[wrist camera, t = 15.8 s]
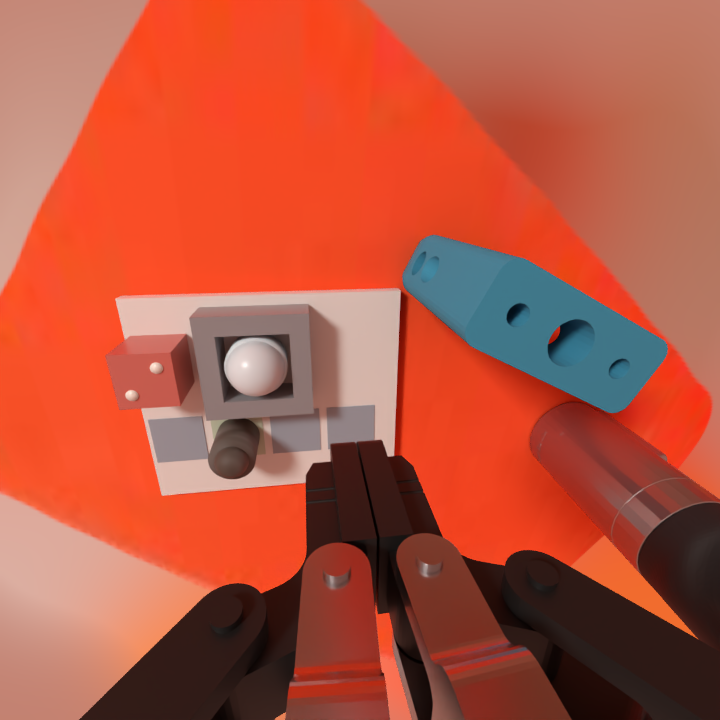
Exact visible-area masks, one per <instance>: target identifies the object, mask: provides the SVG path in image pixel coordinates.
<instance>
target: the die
mask: <svg viewBox="0 0 720 720" xmlns="http://www.w3.org/2000/svg"><path fill="white" fill-rule="evenodd" d="M105 356H106V360H107V364H108V368H109V372H110V376H111V379H112V383H113V387H114V391H115V395H116V399H117V402H118V406H119V410H126V409H142V408H158V407H174V406H181V405H182V403H183V401H184V399H185V398H186V396H187V394H188V393H189V391H190V389H191V387H192V386H193V384H194V382H195V380H194V374H193V369H192V363H191V357H190V351H189V345H188V340H187V334H167V335H142V336H129V337H128V338H127V339H126V340H124V341H123V342H122V343H121V344H119V345H118V346H117V347H116V348H114V349H113V350H112V351H110V352H109V353H108V354H107V355H105Z"/></svg>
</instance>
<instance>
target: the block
mask: <svg viewBox="0 0 720 720" xmlns="http://www.w3.org/2000/svg"><path fill="white" fill-rule="evenodd" d="M403 285H404V287H405V289H406V290H407V291H408V292H409V293H410V294H411V295H412V296H414V297H415V298H416V299H417V300H418V301H419V302H421V303H422V304H423V305H424V306H425V307H426V308H427V309H429V310H430V311H431V312H432V313H433V314H434V315H436V316H437V317H438V318H439V319H440V320H441V321H442V322H444V323H445V324H446V325H447V326H448V327H449V328H451V329H452V330H453V331H454V332H455V333H456V334H457V335H459V336H460V337H461V338H462V339H463V340H464V341H466V342H467V343H468V344H469V345H470V346H472V347H473V348H475V349H477V350H479V351H482V352H484V353H486V354H488V355H490V356H492V357H494V358H496V359H498V360H500V361H502V362H504V363H506V364H509V365H511V366H513V367H515V368H517V369H519V370H521V371H523V372H525V373H527V374H529V375H531V376H534V377H536V378H538V379H540V380H542V381H544V382H546V383H548V384H550V385H552V386H554V387H556V388H559V389H561V390H563V391H565V392H567V393H569V394H571V395H573V396H575V397H577V398H579V399H581V400H583V401H586V402H588V403H590V404H592V405H594V406H596V407H598V408H600V409H602V410H604V411H606V412H609V413H616V412H619V411H622V410H623V409H625V408H626V407H627V406H628V405H629V404H630V403H631V401H632V400H633V399H634V398H635V396H636V395H637V394H638V392H639V391H640V390H641V389H642V387H643V386H644V385H645V384H646V382H647V381H648V380H649V378H650V377H651V376H652V375H653V373H654V372H655V371H656V370H657V368H658V367H659V366H660V364H661V363H662V362H663V360H664V359H665V357H666V355H667V350H668V348H667V344H666V342H665V341H664V340H662V339H661V338H659V337H657V336H656V335H654V334H652V333H651V332H649V331H647V330H645V329H644V328H642V327H640V326H639V325H637V324H635V323H634V322H632V321H630V320H628V319H627V318H625V317H623V316H622V315H620V314H618V313H617V312H615V311H613V310H611V309H610V308H608V307H606V306H605V305H603V304H601V303H600V302H598V301H596V300H594V299H593V298H591V297H589V296H588V295H586V294H584V293H583V292H581V291H579V290H577V289H576V288H574V287H572V286H571V285H569V284H567V283H566V282H564V281H562V280H560V279H559V278H557V277H555V276H554V275H552V274H550V273H549V272H547V271H545V270H543V269H542V268H540V267H538V266H537V265H535V264H533V263H532V262H530V261H528V260H526V259H523V258H520V257H516V256H512V255H509V254H505V253H501V252H497V251H494V250H490V249H486V248H482V247H479V246H475V245H471V244H467V243H464V242H460V241H456V240H452V239H449V238H445V237H441V236H438V235H431V236H428V237H426V238H424V239H422V240H421V241H420V242H419V244H418V246H417V248H416V250H415V251H414V253H413V255H412V257H411V259H410V261H409V263H408V265H407V267H406V268H405V270H404V272H403ZM559 326H560V334H559V336H558V338H557V339H556V340H555V341H554V342H552V343H550V344H548V343H549V339H550V337H551V335H552V334H553V332H554V331H555V330H556V329H557V328H558V327H559Z"/></svg>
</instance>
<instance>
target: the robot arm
mask: <svg viewBox="0 0 720 720" xmlns="http://www.w3.org/2000/svg"><path fill="white" fill-rule="evenodd" d="M530 448H531V451H532V453H533V455H534V457H535V458H536V459H537V460H538V461H539V462H540V463H541V464H542V466H543V467H544V468H545V469H546V470H547V471H548V472H549V473H550V475H551V476H552V477H553V478H554V479H555V480H556V481H557V483H558V484H559V485H560V486H561V487H562V488H563V489H564V490H565V491H566V492H567V494H568V495H569V496H570V497H571V498H572V499H573V500H574V501H575V502H576V504H577V505H578V506H579V507H580V508H581V509H582V510H583V511H584V512H585V513H586V515H587V516H588V517H589V518H590V519H591V520H592V521H593V522H594V523H595V525H596V526H597V527H598V528H599V529H600V530H601V531H602V532H603V533H604V535H605V536H606V537H607V538H608V539H609V540H610V541H611V542H612V543H613V544H614V546H615V547H616V548H617V549H618V550H619V551H620V552H621V553H622V554H623V555H624V556H625V558H626V559H627V560H628V561H629V562H630V563H631V564H632V565H633V566H634V568H635V569H636V570H637V571H638V572H639V573H640V574H641V575H642V576H643V577H644V578H645V580H646V581H648V583H649V584H650V585H651V586H652V587H653V588H654V589H655V590H656V592H658V594H659V595H660V596H661V597H662V598H663V600H664V601H665V602H666V603H667V604H668V605H669V606H670V608H671V609H672V610H673V611H674V612H675V613H676V614H677V615H678V617H679V618H680V619H681V620H682V621H683V622H684V623H685V624H686V626H687V627H688V628H689V629H690V630H691V631H692V632H693V633H694V635H695V636H696V637H697V638H698V639H699V640H698V639H696V638H695V637H693V636H691V635H690V634H688V633H686V632H684V631H682V630H681V629H679V628H677V627H675V626H674V625H672V624H670V623H668V622H667V621H665V620H663V619H661V618H659V617H658V616H656V615H654V614H652V613H651V612H649V611H647V610H645V609H644V608H642V607H640V606H638V605H637V604H635V603H633V602H631V601H630V600H628V599H626V598H624V597H622V596H621V595H619V594H617V593H615V592H613V591H612V590H610V589H608V588H606V587H605V586H603V585H601V584H599V583H598V582H596V581H594V580H592V579H591V578H589V577H587V576H585V575H583V574H582V573H580V572H578V571H577V570H575V569H573V568H571V567H570V566H568V565H566V564H564V563H562V562H561V561H559V560H557V559H555V558H554V557H552V556H550V555H547V554H545V553H542V552H538V551H532V550H523V551H518V552H516V553H514V554H512V555H511V556H510V557H509V558H508V559H507V561H506V564H505V566H503V565H497V564H491V563H486V562H480V561H476V560H472V559H469V558H467V557H465V556H463V555H461V554H460V552H459V551H458V549H457V548H456V547H455V546H454V545H453V544H452V543H451V542H450V541H448V540H446V539H445V538H443V536H442V534H441V532H440V530H439V527H438V525H437V522H436V520H435V518H434V515H433V513H432V510H431V508H430V506H429V503H428V501H427V498H426V496H425V494H424V493H423V489H422V486H421V484H420V482H419V480H418V477H417V475H416V472H415V470H414V467H413V466H412V465H411V464H410V463H409V462H408V461H407V460H406V459H405V458H403V457H402V456H389V457H388V456H387V453H386V450H385V447H384V444H383V441H382V440H369V441H357V443H355V442H344V443H332V444H330V460H331V461H330V462H318V463H313V464H312V466H311V467H310V469H309V471H308V472H307V474H306V532H307V553H306V558H305V561H304V563H303V565H302V567H301V568H300V570H299V571H298V572H297V573H296V574H295V575H294V576H293V577H292V578H291V579H290V580H288V581H287V582H285V583H284V584H282V585H280V586H278V587H275V588H273V589H271V590H268V591H266V592H264V593H262V594H261V593H260V592H259V591H258V590H257V589H256V588H254V587H252V586H250V585H246V584H239V583H237V584H229V585H225V586H222V587H219V588H217V589H215V590H213V591H212V592H210V593H209V594H207V595H206V596H205V597H204V598H203V599H201V600H200V601H199V602H198V603H197V604H196V605H195V606H194V607H193V608H192V609H191V610H190V611H189V612H188V613H187V614H186V615H185V616H184V617H183V618H182V619H181V620H180V621H179V622H178V623H177V624H176V625H175V626H174V627H173V628H172V629H171V630H170V631H169V632H168V633H167V634H166V635H165V636H164V637H163V638H162V639H161V640H160V641H159V642H158V643H157V644H156V645H155V646H154V647H153V648H152V649H151V650H150V651H149V652H148V653H146V654H145V655H144V656H143V657H142V658H141V659H140V661H138V662H137V663H136V664H135V665H134V666H133V667H132V668H131V669H130V670H129V671H128V672H127V673H126V674H125V675H124V676H123V677H122V678H121V679H120V680H119V681H118V682H117V683H116V684H115V685H114V686H113V687H112V688H111V689H110V690H109V691H108V692H107V693H106V694H105V695H104V696H103V697H102V698H101V699H100V700H99V701H98V702H97V703H96V704H95V705H94V706H93V707H92V708H91V709H90V710H89V711H88V712H87V713H86V714H85V715H84V716H82V718H80V719H79V720H275V718H276V717H278V716H280V715H281V714H283V713H285V712H286V719H285V720H390V717H389V708H388V699H387V690H386V683H385V677H384V673H382V670H381V663H380V654H379V644H378V634H377V624H376V614H375V601H376V606H377V611H378V614H382V613H389V614H390V619H391V623H392V628H393V635H392V647H393V652H394V656H395V660H396V663H397V667H398V671H399V674H400V678H401V681H402V685H403V689H404V692H405V696H406V699H407V703H408V707H409V710H410V714H411V717H412V720H720V499H718V498H717V497H716V496H714V495H713V494H711V493H710V492H709V491H707V490H706V489H704V488H703V487H702V486H700V485H699V484H697V483H696V482H694V481H693V480H692V479H690V478H689V477H688V476H686V475H685V474H683V473H682V472H681V471H679V470H678V469H676V468H675V467H674V466H672V465H671V464H669V463H668V462H667V457H666V455H665V454H664V453H662V452H661V451H659V450H658V449H656V448H655V447H654V446H652V445H651V444H649V443H648V442H646V441H645V440H644V439H642V438H641V437H639V436H638V435H637V434H635V433H634V432H632V431H631V430H629V429H628V428H627V427H625V426H624V425H622V424H621V423H619V422H618V421H617V420H615V419H614V418H612V417H611V416H609V415H608V414H607V413H605V412H604V411H596V410H594V409H593V408H592V407H590V406H589V405H586V404H584V403H578V402H571V403H565V404H561V405H559V406H557V407H555V408H553V409H551V410H550V411H548V412H547V413H546V414H545V415H544V416H542V417H541V418H540V420H539V421H538V422H537V424H536V425H535V427H534V429H533V431H532V434H531V437H530Z"/></svg>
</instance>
